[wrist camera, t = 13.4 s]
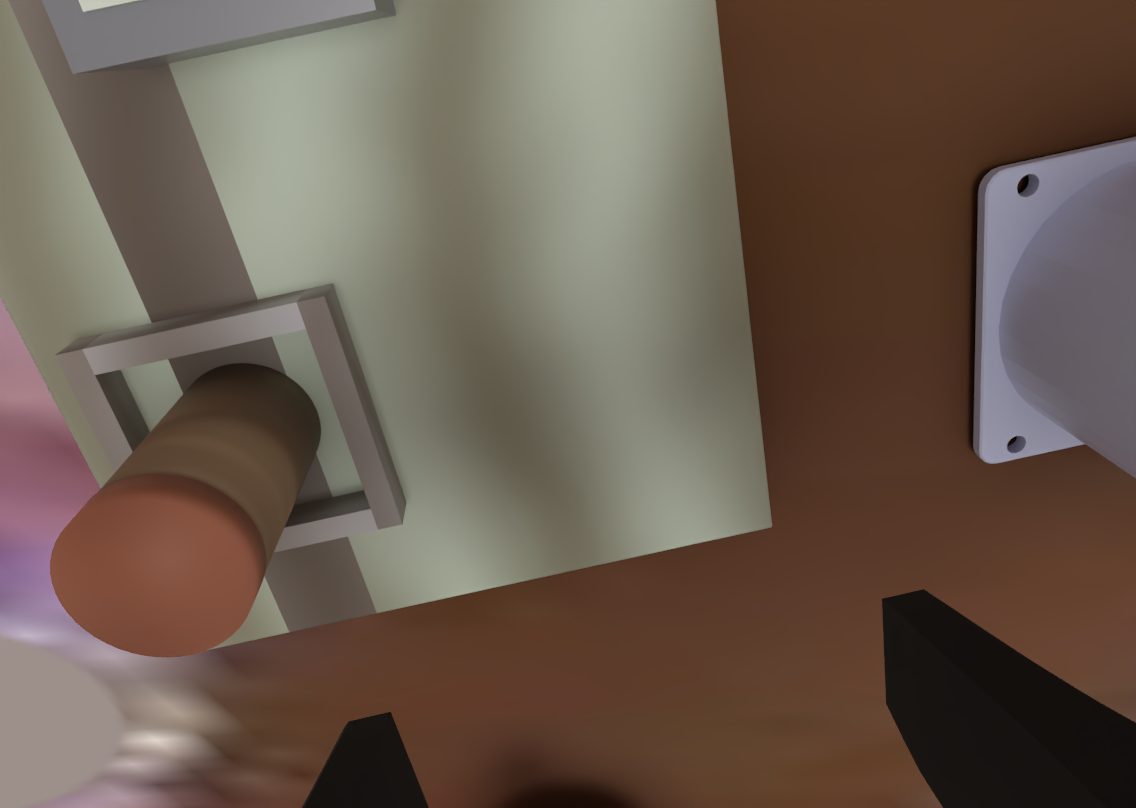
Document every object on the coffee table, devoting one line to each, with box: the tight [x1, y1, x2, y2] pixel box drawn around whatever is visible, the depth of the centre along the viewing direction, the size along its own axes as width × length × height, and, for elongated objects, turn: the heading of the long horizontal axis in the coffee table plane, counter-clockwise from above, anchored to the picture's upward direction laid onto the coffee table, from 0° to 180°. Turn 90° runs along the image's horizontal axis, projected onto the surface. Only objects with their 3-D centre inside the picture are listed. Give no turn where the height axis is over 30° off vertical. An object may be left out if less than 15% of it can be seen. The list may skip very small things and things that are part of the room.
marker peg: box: [50, 363, 321, 657], centre depth 16 cm, size 3×3×6 cm
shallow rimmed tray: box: [0, 0, 772, 650], centre depth 17 cm, size 16×20×2 cm
